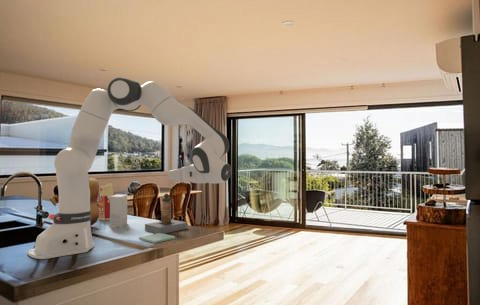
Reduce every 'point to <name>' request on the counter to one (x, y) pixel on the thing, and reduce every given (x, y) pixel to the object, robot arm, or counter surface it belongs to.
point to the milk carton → (105, 201)
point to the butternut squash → (94, 199)
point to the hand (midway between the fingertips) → (177, 173)
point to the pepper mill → (166, 210)
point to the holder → (165, 227)
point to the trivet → (157, 238)
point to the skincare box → (118, 210)
